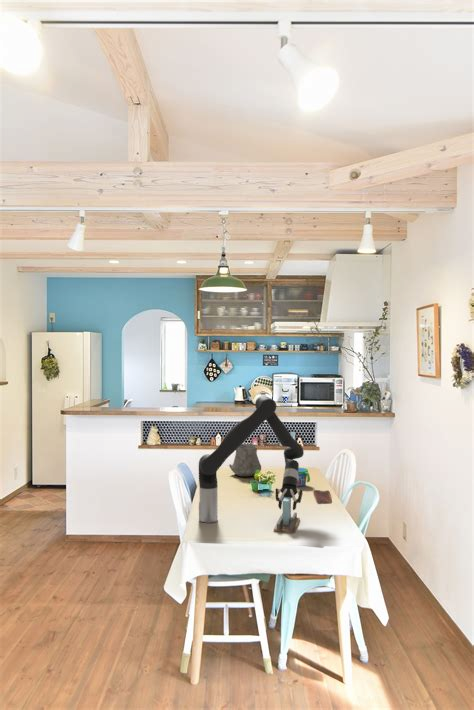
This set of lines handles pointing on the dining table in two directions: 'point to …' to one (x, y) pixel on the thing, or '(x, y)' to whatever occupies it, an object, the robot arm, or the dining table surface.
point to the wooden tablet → (322, 497)
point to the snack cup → (303, 476)
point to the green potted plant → (255, 481)
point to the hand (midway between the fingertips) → (286, 508)
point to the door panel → (286, 511)
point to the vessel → (246, 461)
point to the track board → (285, 528)
